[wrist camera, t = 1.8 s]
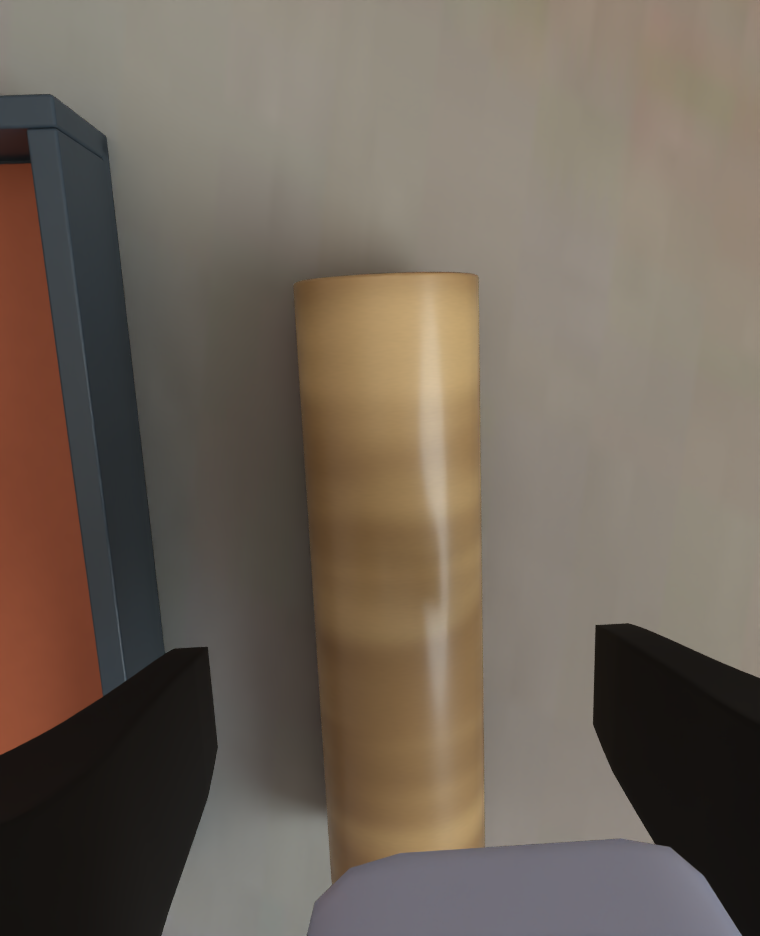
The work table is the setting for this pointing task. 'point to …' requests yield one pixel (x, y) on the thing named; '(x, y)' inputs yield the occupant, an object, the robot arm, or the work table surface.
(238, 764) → the work table surface
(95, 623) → the tray
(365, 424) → the rolling pin
